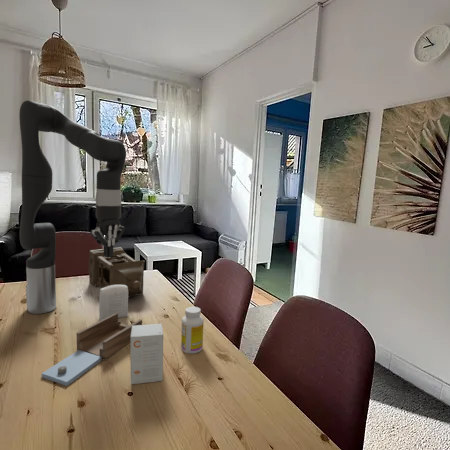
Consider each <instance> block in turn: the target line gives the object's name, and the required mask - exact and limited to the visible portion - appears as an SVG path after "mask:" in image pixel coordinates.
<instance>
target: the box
mask: <svg viewBox="0 0 450 450" xmlns="http://www.w3.org/2000/svg"><path fill="white" fill-rule="evenodd" d="M134 325H143V320H142V319H138V320H136V321H134V322H133V323H131V324H130V325H128V324H125V323H122V321H121V320H119V318H118V313H114V314H112V315H110V316H108V317H106V318H104V319H103V320H99V321H97V322H95V323H93V324H91V325H89V326H88V327H85V328H83V329H82V330H79V331H78V332H76V351H78V350H80V351H84V352H87V353H90V354H94V355H97V356H100V357H102V360H103V361H107V360H108V359H110V358H112V357H113V356H114V355H115V354H117V353H119V352H120V351H122V350H123V349H124V348H126V347H128V346H129V345H131V338H130V337H131V330H132V326H134Z"/></svg>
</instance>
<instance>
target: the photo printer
mask: <svg viewBox="0 0 450 450" xmlns="http://www.w3.org/2000/svg"><path fill="white" fill-rule="evenodd" d="M98 300H99V305H98V306H99V308H98V309H99V310H98V313H99V314H98V315H99V316H98V319H99V321H101V320H103V319H104V318H106V317H108V316H110V315H112V314H114V313H118V319H121V318H125V317H128V315H129V297H128V287H127V286H126V285H110V286H107V287H104V288H100V289H99V299H98Z"/></svg>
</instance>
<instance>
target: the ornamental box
mask: <svg viewBox="0 0 450 450" xmlns="http://www.w3.org/2000/svg"><path fill="white" fill-rule="evenodd" d="M88 257H89V258H88V278H89V279H88V280H89V283H88V284H89V285H92V286H95V288H100V289H102V288H104V287H107V286H110V285H126V286H127V287H128V298H130V297H135V296H137V295H143V294H144V270H145V262H146V260H144V259H143V260H135V259H134V258H133V257H131V256H130V255H128V254H127V253H126V251H124V249H123V248H122V246H119V247H113V256H112V257H109V258H108V257H105V256H104V248H101V249H100V248H99V249H90V250H89V255H88Z"/></svg>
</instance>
